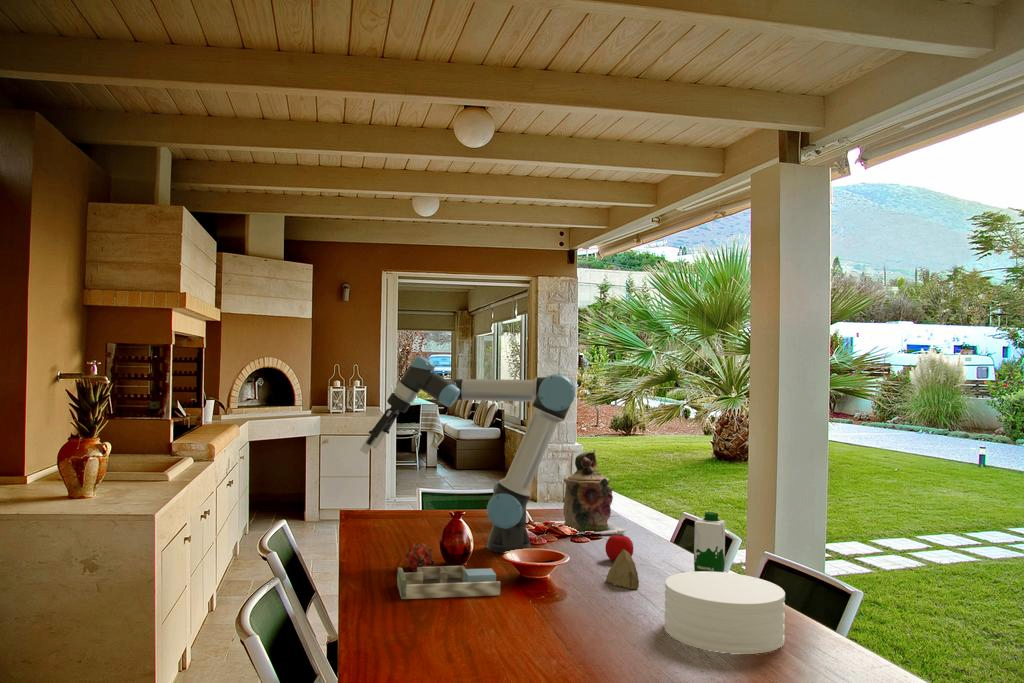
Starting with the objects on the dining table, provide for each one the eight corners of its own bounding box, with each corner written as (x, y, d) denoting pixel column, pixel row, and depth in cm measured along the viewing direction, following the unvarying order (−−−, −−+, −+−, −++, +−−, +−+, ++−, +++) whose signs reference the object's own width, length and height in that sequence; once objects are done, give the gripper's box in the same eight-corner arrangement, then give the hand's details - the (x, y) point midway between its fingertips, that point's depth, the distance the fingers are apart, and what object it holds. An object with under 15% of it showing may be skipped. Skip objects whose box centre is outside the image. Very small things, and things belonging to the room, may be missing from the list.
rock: (649, 582, 219) (640, 568, 229) (633, 559, 218) (625, 546, 228) (618, 604, 219) (611, 589, 229) (602, 581, 218) (595, 567, 227)
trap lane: (486, 576, 229) (486, 559, 229) (500, 595, 210) (500, 576, 210) (395, 579, 222) (396, 562, 222) (401, 599, 204) (402, 580, 204)
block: (491, 585, 220) (491, 568, 220) (495, 592, 213) (496, 574, 213) (463, 586, 218) (464, 569, 218) (467, 593, 211) (468, 575, 211)
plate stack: (695, 608, 203) (696, 565, 204) (801, 633, 185) (802, 586, 186) (643, 634, 182) (644, 586, 182) (757, 665, 164) (758, 612, 164)
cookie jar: (547, 524, 311) (549, 446, 312) (602, 523, 318) (604, 446, 320) (569, 537, 287) (571, 453, 289) (628, 535, 295) (630, 452, 296)
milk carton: (726, 578, 234) (727, 513, 235) (720, 585, 226) (721, 518, 227) (698, 574, 238) (699, 510, 239) (690, 581, 230) (691, 514, 231)
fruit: (632, 558, 257) (632, 528, 257) (633, 565, 248) (634, 534, 248) (604, 557, 258) (605, 527, 258) (605, 563, 249) (606, 533, 249)
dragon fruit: (420, 569, 241) (422, 585, 229) (398, 554, 239) (399, 569, 228) (436, 548, 241) (439, 563, 230) (415, 533, 240) (417, 547, 228)
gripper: (400, 389, 271) (367, 439, 271) (385, 393, 246) (349, 448, 246) (417, 401, 270) (384, 450, 271) (404, 406, 246) (368, 460, 246)
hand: (368, 449), depth 258 cm, fingers open, 13 cm apart
